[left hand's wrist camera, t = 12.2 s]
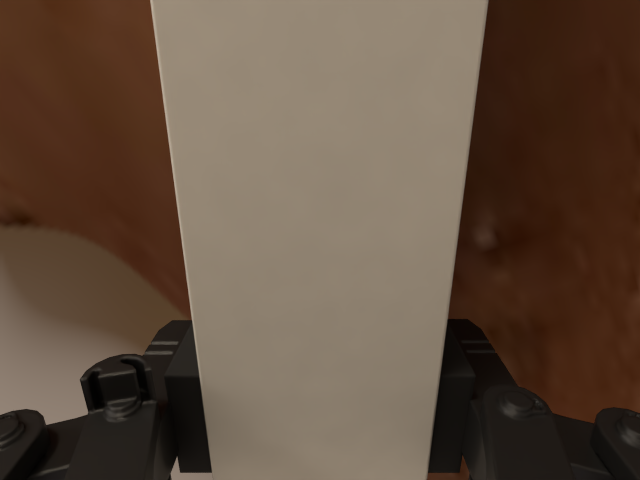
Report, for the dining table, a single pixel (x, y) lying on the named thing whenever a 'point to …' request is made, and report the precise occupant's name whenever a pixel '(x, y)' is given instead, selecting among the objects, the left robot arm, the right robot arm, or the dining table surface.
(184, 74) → the post
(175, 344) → the left robot arm
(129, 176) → the dining table surface
